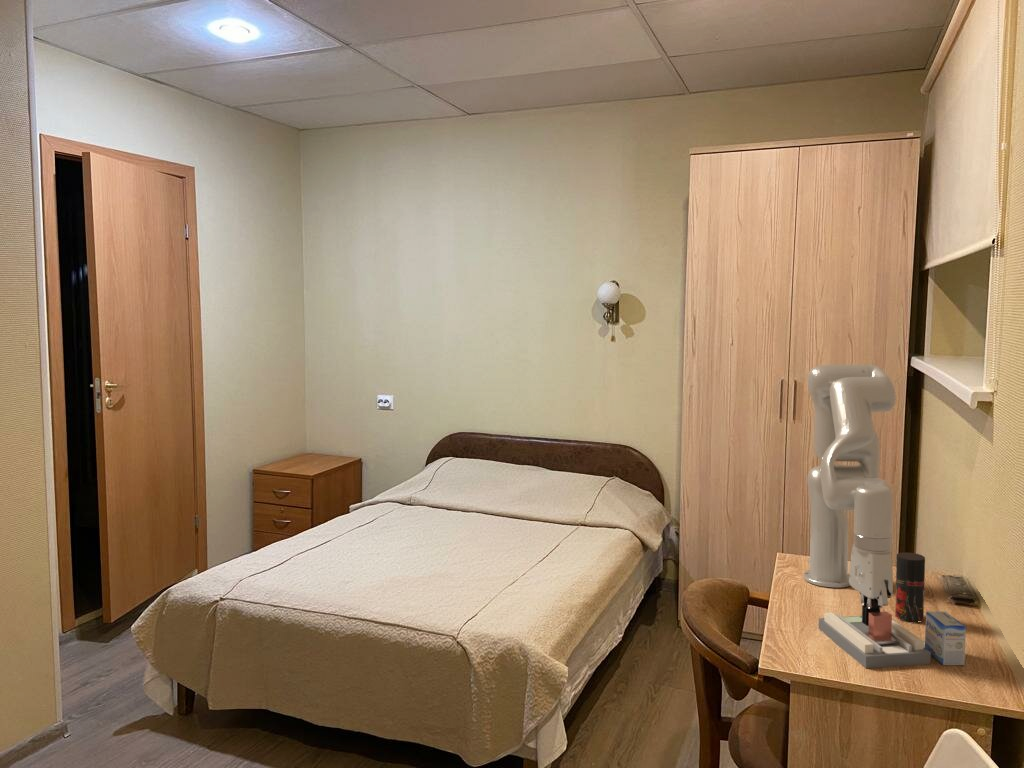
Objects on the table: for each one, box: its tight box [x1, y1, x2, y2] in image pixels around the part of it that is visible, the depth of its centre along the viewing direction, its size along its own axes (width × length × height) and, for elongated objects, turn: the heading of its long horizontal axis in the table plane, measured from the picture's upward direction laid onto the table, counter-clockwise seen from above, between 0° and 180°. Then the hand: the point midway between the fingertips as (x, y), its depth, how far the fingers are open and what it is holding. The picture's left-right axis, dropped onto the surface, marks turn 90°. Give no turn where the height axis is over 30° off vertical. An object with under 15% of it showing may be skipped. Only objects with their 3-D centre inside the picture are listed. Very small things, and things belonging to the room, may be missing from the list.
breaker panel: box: [818, 612, 932, 669], centre depth 168 cm, size 20×14×4 cm
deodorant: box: [894, 551, 926, 623], centre depth 182 cm, size 6×6×15 cm
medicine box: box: [924, 610, 967, 666], centre depth 162 cm, size 8×4×9 cm, turn 178°
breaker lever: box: [863, 611, 898, 645], centre depth 165 cm, size 5×5×6 cm
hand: (870, 623), depth 168 cm, fingers closed
